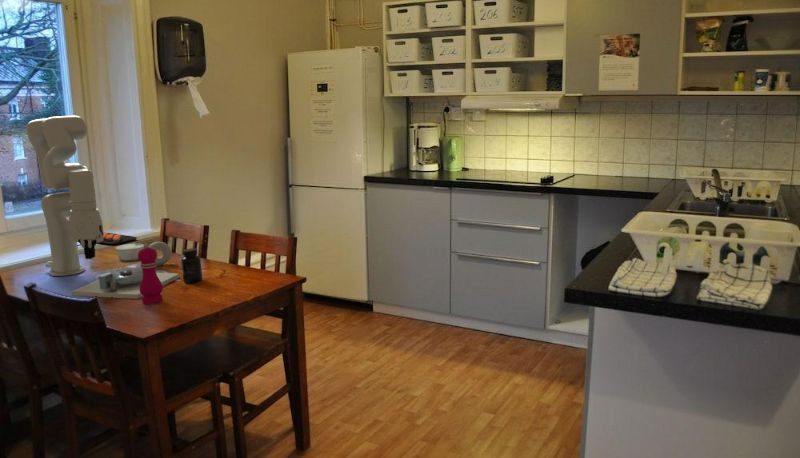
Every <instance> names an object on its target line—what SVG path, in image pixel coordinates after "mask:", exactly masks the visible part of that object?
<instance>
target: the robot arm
mask: <svg viewBox="0 0 800 458" xmlns="http://www.w3.org/2000/svg"><path fill="white" fill-rule="evenodd" d="M26 134H27V137H28V139H29V142H30V143H31V146H32V147H33V149H34V151H35V154H36V156H37V161H38V167H39V173H40V180H41V182H42V186H43V187H44V188H45V189H46V190H55V191H61V192H54V193H50V194H49V193H48V194H46V195H45V196H43V197H42V199H41V201H40V205H41V210H42V212H43V215H44V219H45V222H46V224H45V225H46V228H47V233H48V240H49V241H48V242H49V247H50V256H51V261H50V260H49V261H47V263H45V268H50V270H49V273H48V274H49V276H52V277H67V276H72V275H76V274H80V273H83V272H85V270H86V269H85V266H84V265H81V261H80V254H79V248H78V247H79V246H77V245H78V243H79V245H81V248H83V252H84V253H83V254H84V259H85V260H92V259H94V258H95V257H96V250H95V249H96V248H95V246H97V244H98V243H100V242H102V241H104V239H103V234H104V226H103V220H102V216H101V213H100V210H99V208H98V207H97V202H96V201H97V200H96V193H95V191H96V189H95V183H94V173H93V171H92V170H91V168H90V167H88V166H85V165H83V164H82V163H78V162H71V163H64V162H65V161H67V160H69V159H71V158H72V157H73V156H74V155H75V154H76V152H77V149H78V147H77V144H76V142H75V141H76V140H77V141H78V140H83V139H85V138H86V137H87V134H88V127H87V124H86V122H85V120H84V119H83V117H81V116H78V115H62V116H59V115H58V116H49V117H48V118H40V119H39V118H38V119H34V120H30V121H29V122H28V123H27V124H26ZM64 190H69V191H64ZM67 217H68V219H67Z"/></svg>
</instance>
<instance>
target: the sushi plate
mask: <svg viewBox="0 0 800 458" xmlns="http://www.w3.org/2000/svg"><path fill="white" fill-rule="evenodd" d="M103 232H104V231H103ZM103 239H104V241H102V242H99V243H101V244H107V245H119V244H124V243H128V242H130V241H134V240H136V239H137V236H134V235H133V236H132V235H125V234H120V233H119V234H118V233H113V232H108V231H107V232H104V234H103ZM77 247H82V245H81V244H77ZM95 251H96V248H95Z"/></svg>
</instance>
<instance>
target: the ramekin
mask: <svg viewBox="0 0 800 458" xmlns="http://www.w3.org/2000/svg"><path fill="white" fill-rule="evenodd" d="M143 248H144V244H143V243H126V244H121V245H118V246H115V251H116V253H117V256H118V259H119V260H120V261H123V262H124V261H125V262H127V261H128V262H129V261H130V262H131V261H137V260H139V259H138V253H139V251H140V250H141V249H143Z"/></svg>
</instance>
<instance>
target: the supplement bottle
mask: <svg viewBox="0 0 800 458" xmlns="http://www.w3.org/2000/svg"><path fill="white" fill-rule="evenodd" d="M197 250H198V249H197V248H186V249H183V250H182V255H183V257H182V258H181V261H180V263H181V272H182V281H183V283H185V284H187V285H189V284H197V283H200V282H202V281H203V271H202V261H201V260H202V259H201V257H200V256H199V255H198V251H197Z"/></svg>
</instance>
